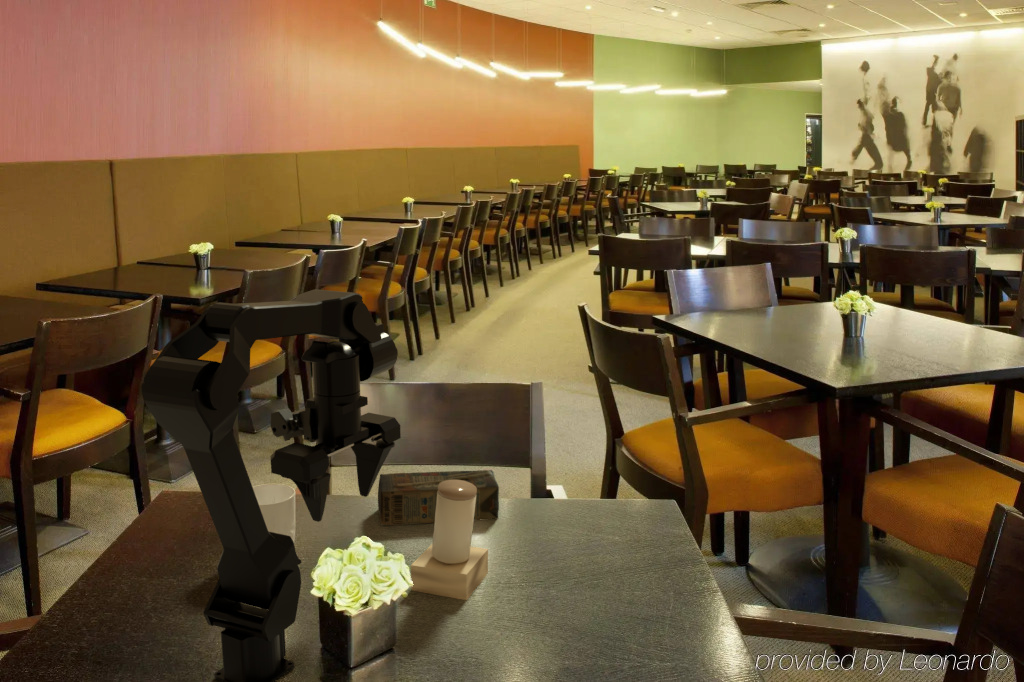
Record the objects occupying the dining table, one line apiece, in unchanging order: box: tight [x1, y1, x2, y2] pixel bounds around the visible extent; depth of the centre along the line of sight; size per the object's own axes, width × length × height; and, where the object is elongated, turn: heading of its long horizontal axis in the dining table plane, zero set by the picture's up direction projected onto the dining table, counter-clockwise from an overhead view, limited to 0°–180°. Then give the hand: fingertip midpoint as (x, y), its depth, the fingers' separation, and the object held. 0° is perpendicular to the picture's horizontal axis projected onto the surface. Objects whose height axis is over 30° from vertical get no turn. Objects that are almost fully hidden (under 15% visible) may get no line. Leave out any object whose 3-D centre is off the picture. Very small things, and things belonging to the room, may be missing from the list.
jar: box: [431, 480, 477, 565], centre depth 121 cm, size 5×5×10 cm
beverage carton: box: [377, 469, 500, 526], centre depth 145 cm, size 8×19×7 cm, turn 100°
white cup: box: [252, 483, 296, 543], centre depth 129 cm, size 8×8×10 cm
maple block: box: [410, 543, 489, 601], centre depth 123 cm, size 8×8×4 cm
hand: (341, 507), depth 115 cm, fingers open, 9 cm apart
